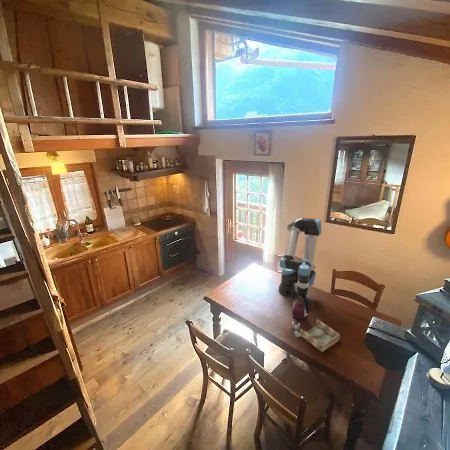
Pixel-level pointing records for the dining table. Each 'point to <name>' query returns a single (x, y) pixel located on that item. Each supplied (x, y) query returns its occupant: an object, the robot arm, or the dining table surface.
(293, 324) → the clip
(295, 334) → the clip
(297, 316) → the vegetable
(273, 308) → the dining table surface
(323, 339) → the tray
